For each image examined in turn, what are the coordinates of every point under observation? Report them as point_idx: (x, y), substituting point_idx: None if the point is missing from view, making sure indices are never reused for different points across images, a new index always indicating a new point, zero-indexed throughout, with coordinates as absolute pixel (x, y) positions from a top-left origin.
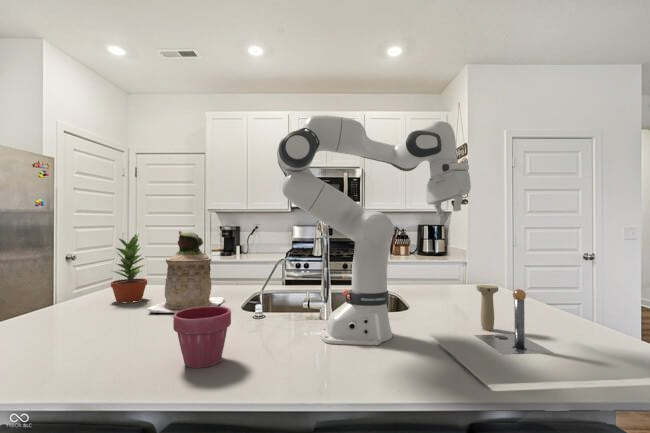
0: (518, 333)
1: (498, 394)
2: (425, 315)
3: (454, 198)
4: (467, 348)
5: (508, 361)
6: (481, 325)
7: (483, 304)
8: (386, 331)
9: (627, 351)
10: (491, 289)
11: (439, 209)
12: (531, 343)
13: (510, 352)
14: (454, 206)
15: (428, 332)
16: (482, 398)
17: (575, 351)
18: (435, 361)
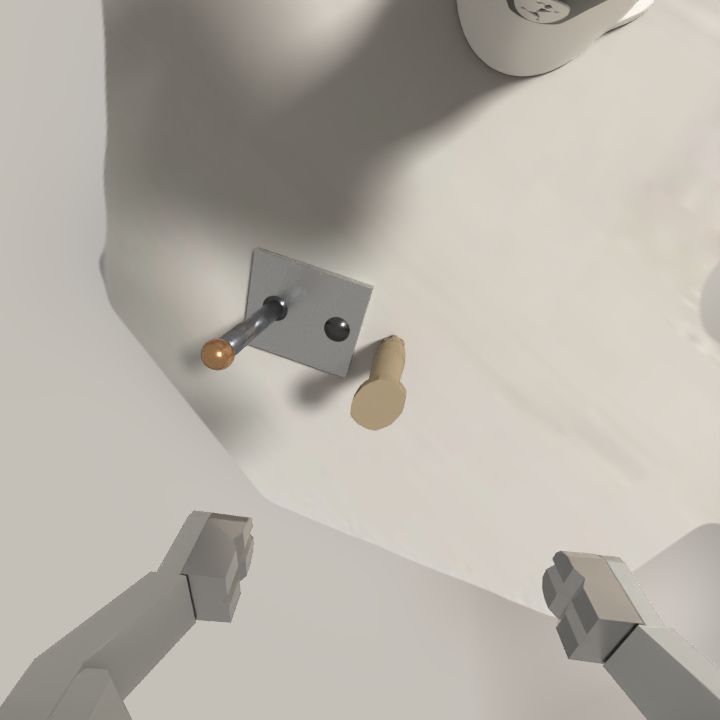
0: (256, 311)
1: (125, 99)
2: (606, 320)
3: (81, 690)
4: (328, 223)
5: (247, 247)
6: (399, 342)
7: (383, 365)
8: (468, 6)
9: (245, 452)
10: (354, 395)
11: (638, 668)
12: (291, 351)
13: (259, 271)
14: (192, 558)
15: (465, 213)
16: (112, 51)
17: (261, 393)
18: (280, 78)
